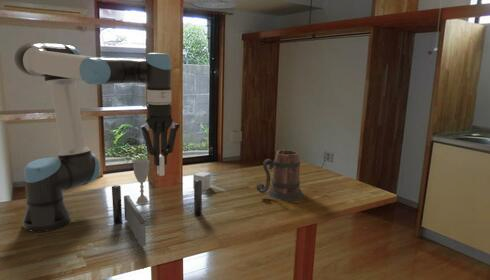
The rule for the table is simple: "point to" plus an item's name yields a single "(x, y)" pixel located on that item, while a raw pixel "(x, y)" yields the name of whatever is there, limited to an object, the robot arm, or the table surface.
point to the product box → (203, 179)
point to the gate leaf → (135, 220)
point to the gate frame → (118, 209)
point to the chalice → (141, 176)
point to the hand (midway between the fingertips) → (160, 174)
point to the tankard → (283, 176)
